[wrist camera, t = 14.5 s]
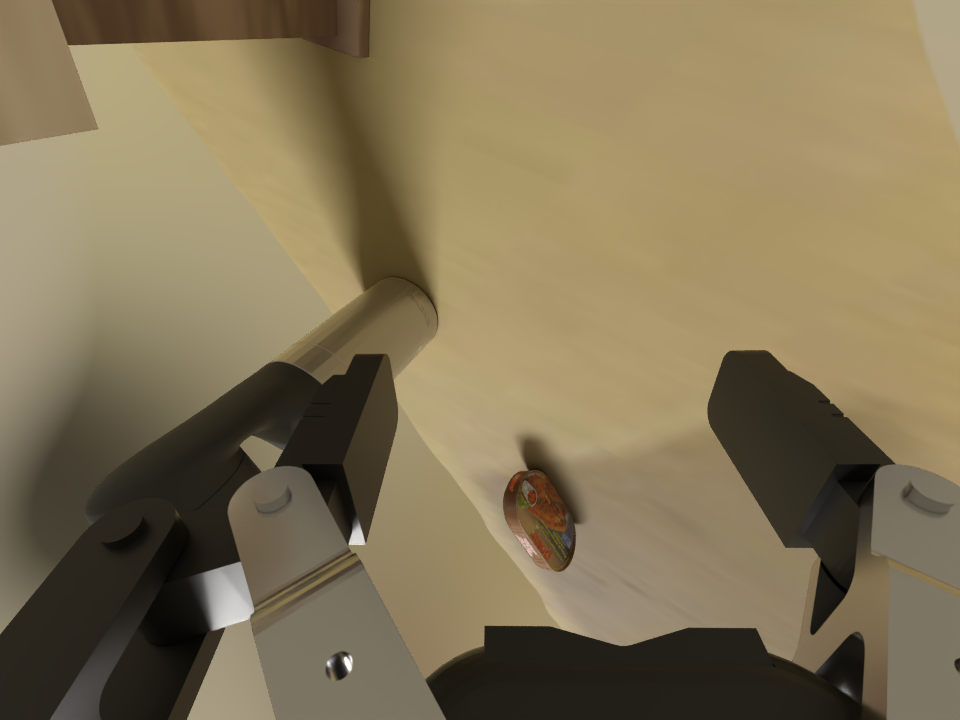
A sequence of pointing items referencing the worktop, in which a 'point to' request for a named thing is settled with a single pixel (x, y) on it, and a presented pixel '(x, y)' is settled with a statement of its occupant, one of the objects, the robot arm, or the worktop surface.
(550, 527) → the tin
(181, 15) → the stand
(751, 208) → the worktop surface
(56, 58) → the bar
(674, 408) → the worktop surface
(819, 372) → the worktop surface
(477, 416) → the worktop surface
